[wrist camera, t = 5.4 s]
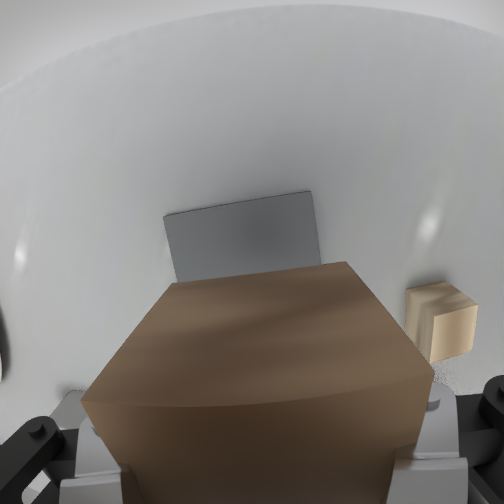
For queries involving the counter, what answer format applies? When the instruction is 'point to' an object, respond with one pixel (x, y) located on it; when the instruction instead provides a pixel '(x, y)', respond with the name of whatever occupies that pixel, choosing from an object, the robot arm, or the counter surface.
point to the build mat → (244, 238)
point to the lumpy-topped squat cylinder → (70, 411)
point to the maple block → (440, 320)
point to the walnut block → (263, 391)
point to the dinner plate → (0, 369)
